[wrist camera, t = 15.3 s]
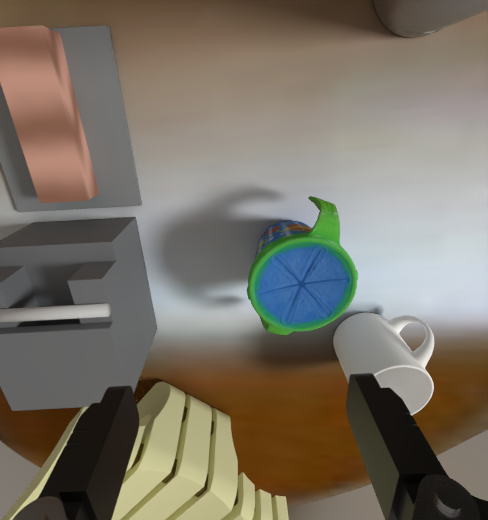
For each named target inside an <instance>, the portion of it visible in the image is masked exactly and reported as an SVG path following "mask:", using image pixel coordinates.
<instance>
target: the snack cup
mask: <svg viewBox="0 0 488 520" xmlns="http://www.w3.org/2000/svg"><path fill="white" fill-rule="evenodd" d="M309 199H310V200H311V201H312V202H314V204H315V205H316V206H317V208H318V209H319V210H320V212H319V216H318V219H317V221H316V223H315V225H314V227H313V228H311V227H309V226H308V225H306V224H304V223H302V222H298V221H283V222H280V223H277V224H275V225H273V226H270V227H269V228H268V229H267V230H266V232H265V233H264V235H263V236H262V237H261V239H260V241H259V244H258V248H257V252H256V257H255V261H254V263H253V264H252V267H251V270H250V273H249V279H248V288H247V294H248V299H250V300H251V303H252V305H253V307H254V309H255V310H256V312H257V313H258V315H259V316H260V319H261V321H262V324H263V326H264V328H265V330H266V331H268V332H271V333H274V334H278V335H288V334H290V333H291V332H293V331H309V330H314V329H318V328H320V327H323V326H325V325H327V324H329V323H331V322H332V321H334V320H335V319H337V318H338V317H339V316H340V315H341V314H342V313H343V312H344V311H345V310H346V309H347V308H348V306H349V305H350V303H351V301H352V299H353V297H354V295H355V291H356V287H357V280H358V273H357V270H356V269H355V266H354V263H353V261H352V260H351V258H350V256H349V255H348V254H347V252H346V251H345V250H344V249H343V248H342V247H341V245H340V242H339V238H340V223H339V216H338V212H337V209H336V206H335V205H334V204H332V203H330V202H327V201H324V200H321V199H319V198H316V197H312V196H310V197H309Z"/></svg>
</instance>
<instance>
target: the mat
mask: <svg viewBox="0 0 488 520" xmlns="http://www.w3.org/2000/svg"><path fill="white" fill-rule="evenodd" d="M49 29H51V30H54V31H56V32H58V33H60V36H61V40H62V44H63V48H64V53H65V57H66V61H67V65H68V69H69V73H70V77H71V81H72V85H73V89H74V93H75V97H76V101H77V106H78V110H79V114H80V118H81V122H82V126H83V130H84V134H85V138H86V142H87V146H88V150H89V155H90V159H91V163H92V167H93V171H94V175H95V179H96V183H97V187H98V191H99V194H98V195H97V196H95V197H93V198H91V199H90V200H88V201H72V202H56V203H40V202H39V199H38V196H37V193H36V190H35V187H34V184H33V181H32V178H31V175H30V172H29V169H28V166H27V162H26V159H25V156H24V153H23V150H22V147H21V144H20V141H19V138H18V135H17V132H16V129H15V126H14V123H13V120H12V117H11V113H10V110H9V107H8V104H7V101H6V98H5V95H4V92H3V89H2V86H1V83H0V163H1V165H2V168H3V171H4V174H5V177H6V180H7V183H8V185H9V188H10V191H11V194H12V197H13V200H14V203H15V205H16V208H17V211H18V212H30V211H49V210H68V209H86V208H105V207H124V206H141V205H142V202H141V197H140V191H139V186H138V181H137V175H136V170H135V164H134V159H133V153H132V148H131V142H130V137H129V131H128V126H127V120H126V115H125V109H124V104H123V98H122V93H121V88H120V82H119V77H118V71H117V66H116V60H115V55H114V49H113V44H112V38H111V33H110V27H109V26H107V25H105V26H85V27H65V28H49Z"/></svg>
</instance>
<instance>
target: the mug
mask: <svg viewBox="0 0 488 520" xmlns="http://www.w3.org/2000/svg"><path fill="white" fill-rule="evenodd" d="M410 322H418V323H420V324H422V325H423V326H424V327H425V329H426V338H425V340H424V342H423V344H422V345H421V346H420V347H419V348H418V349H417V350H415V351H413V352H412V351H411V350H410V348H409V347H408V346H407V344H406V343H405V342H404V340H403V339H402V338H401V336H400V335H399V333H400V331H401V330H402V328H403V327H404V326H405V325H406V324H408V323H410ZM333 345H334V349H335V352H336V355H337V357H338V359H339V362H340V364H341V366H342V369H343V371H344V373H345V376H346V378H347V381H348V383H349V377H350V375H351V374H361V373H372V374H373V375H374V376H375V378H376V380H377V382H378V383H379V385H380V387H381V388H388V387H389V388H391V389H392V390H393V391H394V392H395V393H396V394H397V395H398V396H399V397H401V398H402V399H403V401H404V403H405V405H406V406H407V408H408V410H409V411H410V415H413V414H415V413H417V412H418V411H420V410H421V409H422V408H423V407H424V406H425V405H426V404H427V403H428V401H429V400H430V398H431V396H432V394H433V388H434V386H433V381H432V378H431V377H430V375H429V374H428V372H427V371H426V370H425V366H426V364H427V363H428V361H429V359H430V357H431V355H432V352H433V348H434V336H433V333H432V331H431V329H430V328H429V326H428V325H427V324H426V323H425V322H424V321H422V320H421V319H419V318H417V317H414V316H399V317H396V318H393V319H391V320H389V321H388V320H387V319H385V318H384V317H382V316H381V315H378V314H375V313H358V314H355V315H352V316H350V317H348V318H347V319H345V320H344V321H343V322H342V323H341V324H340V325H339V326H338V327H337V329H336V331H335V334H334V337H333Z"/></svg>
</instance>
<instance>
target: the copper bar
mask: <svg viewBox="0 0 488 520" xmlns="http://www.w3.org/2000/svg"><path fill="white" fill-rule="evenodd" d="M0 83H1V86H2V89H3V92H4V95H5V98H6V101H7V104H8V107H9V110H10V113H11V117H12V120H13V123H14V126H15V129H16V132H17V135H18V138H19V141H20V144H21V147H22V150H23V153H24V156H25V159H26V162H27V166H28V169H29V172H30V175H31V178H32V181H33V184H34V187H35V190H36V193H37V196H38V199H39V202H40V203H56V202H72V201H88V200H90V199H91V198H93V197H95V196H97V195H98V194H99V191H98V187H97V183H96V179H95V175H94V171H93V167H92V163H91V159H90V155H89V150H88V146H87V142H86V138H85V134H84V130H83V126H82V122H81V118H80V114H79V110H78V106H77V101H76V97H75V93H74V89H73V85H72V81H71V77H70V73H69V69H68V65H67V61H66V57H65V53H64V48H63V44H62V40H61V36H60V33H58V32H56V31H54V30H51V29H49V28H47V27H45V26H43V25H37V26H21V27H4V28H0Z"/></svg>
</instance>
